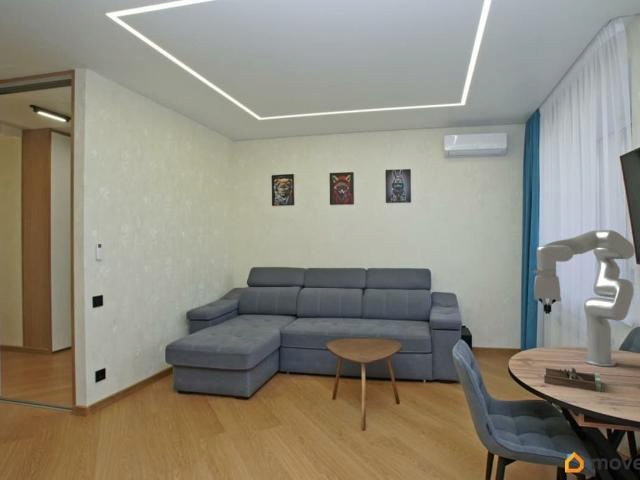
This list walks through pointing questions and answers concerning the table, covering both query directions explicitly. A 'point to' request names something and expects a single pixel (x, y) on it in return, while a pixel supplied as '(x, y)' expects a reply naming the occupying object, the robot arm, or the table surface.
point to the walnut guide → (561, 379)
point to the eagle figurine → (572, 374)
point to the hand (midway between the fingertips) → (547, 313)
